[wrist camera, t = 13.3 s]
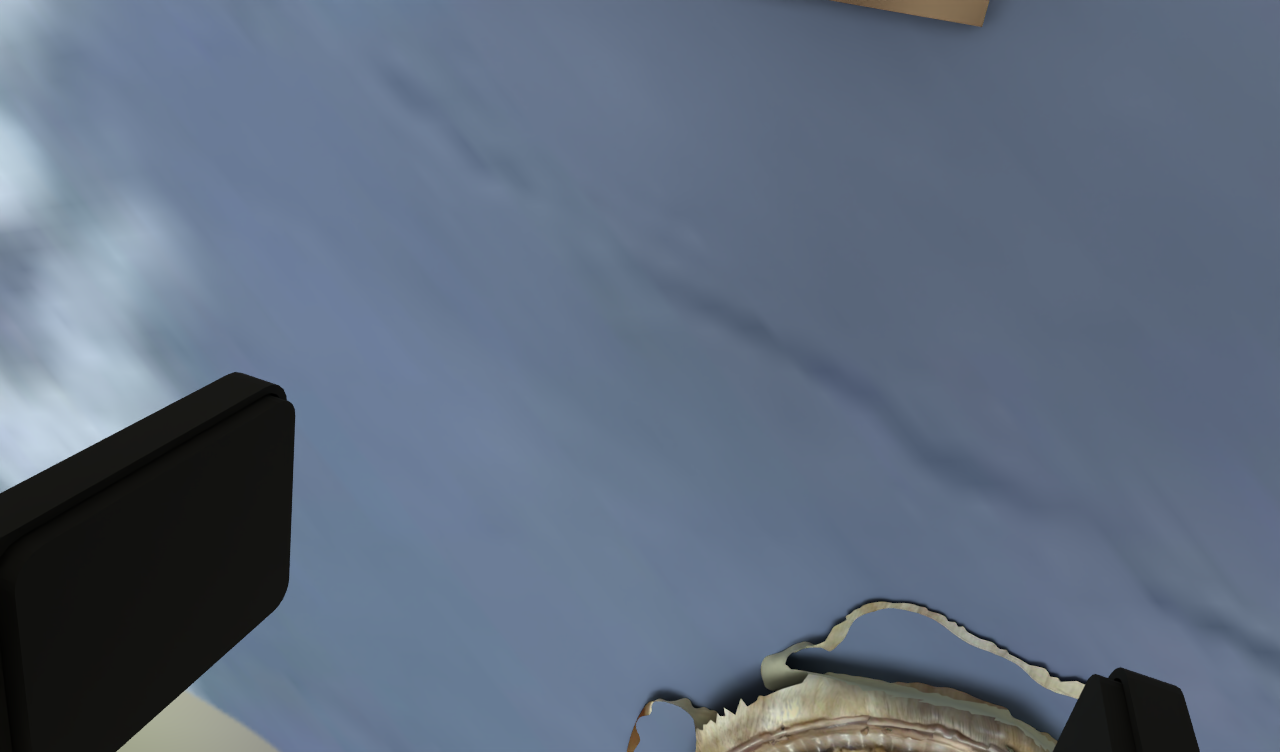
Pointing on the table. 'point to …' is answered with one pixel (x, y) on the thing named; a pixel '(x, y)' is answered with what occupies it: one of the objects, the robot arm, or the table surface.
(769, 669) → the pie
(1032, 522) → the table surface
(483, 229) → the table surface
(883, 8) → the wooden compartment tray
